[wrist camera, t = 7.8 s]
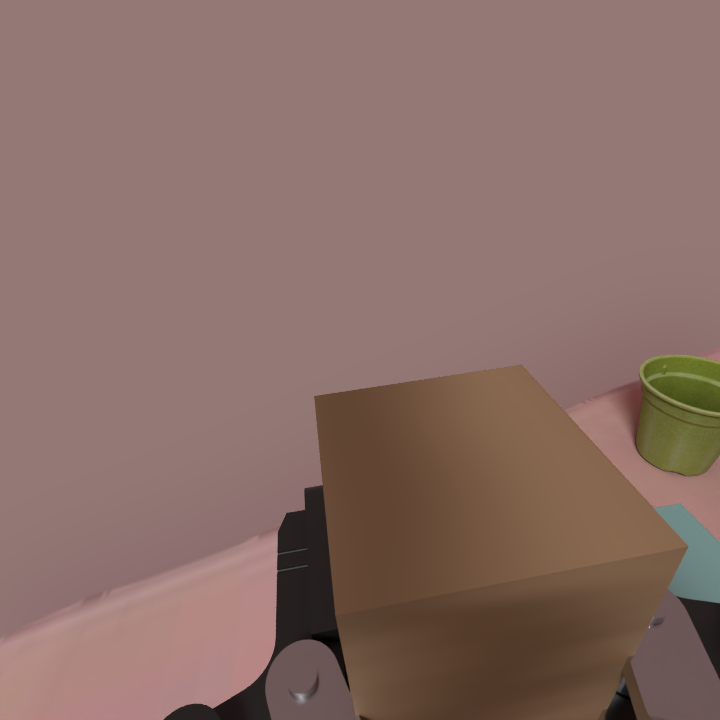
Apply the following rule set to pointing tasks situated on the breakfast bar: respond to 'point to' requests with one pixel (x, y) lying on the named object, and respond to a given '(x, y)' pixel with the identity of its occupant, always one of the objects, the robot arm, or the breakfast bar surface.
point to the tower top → (694, 557)
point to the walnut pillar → (483, 551)
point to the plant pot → (680, 413)
